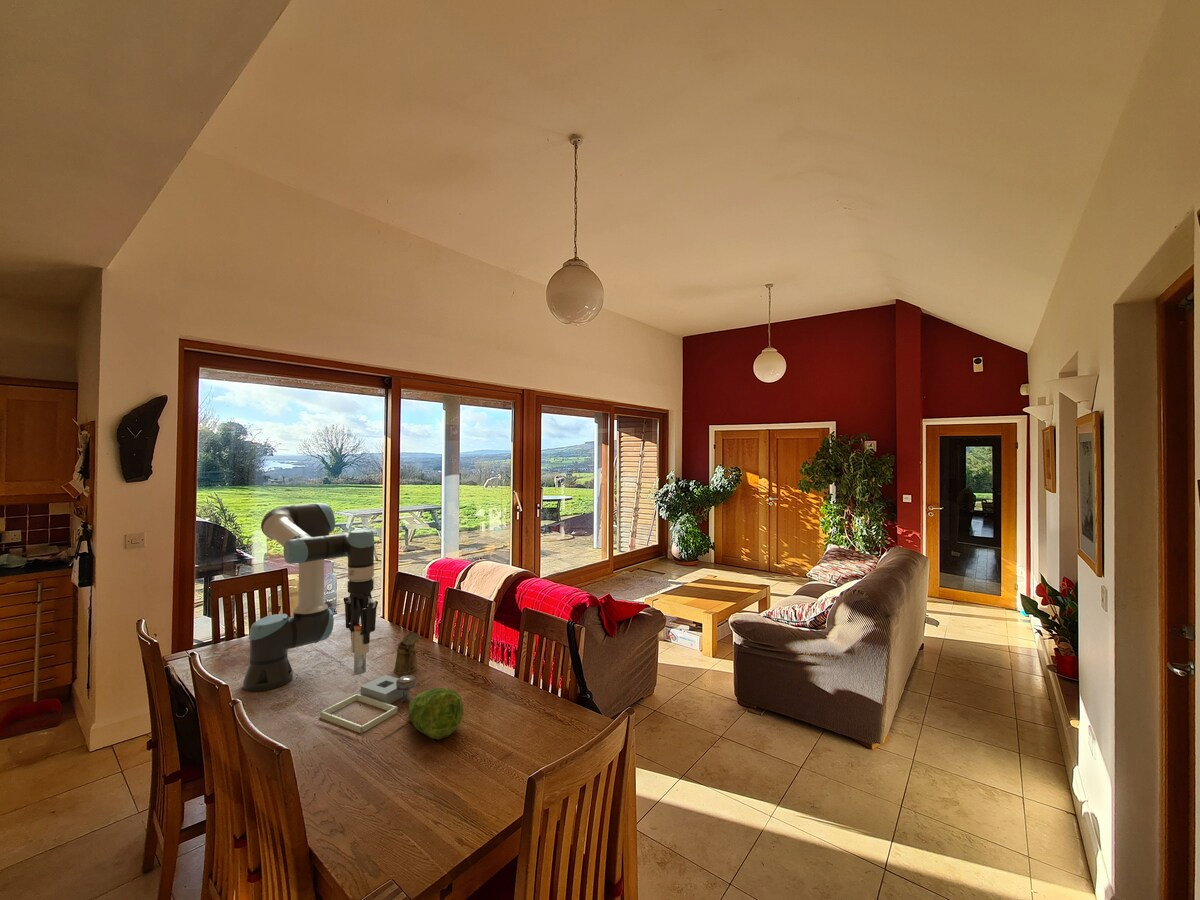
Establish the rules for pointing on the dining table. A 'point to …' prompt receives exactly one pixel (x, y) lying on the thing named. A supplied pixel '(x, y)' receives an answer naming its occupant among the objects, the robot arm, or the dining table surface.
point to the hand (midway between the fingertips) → (360, 652)
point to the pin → (358, 652)
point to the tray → (353, 726)
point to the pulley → (406, 685)
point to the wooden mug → (407, 655)
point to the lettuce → (436, 712)
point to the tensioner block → (382, 689)
